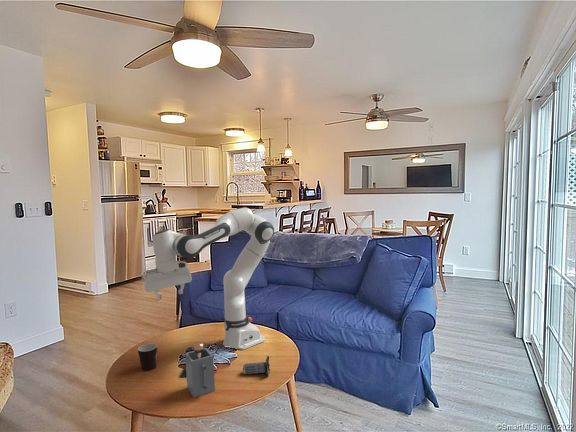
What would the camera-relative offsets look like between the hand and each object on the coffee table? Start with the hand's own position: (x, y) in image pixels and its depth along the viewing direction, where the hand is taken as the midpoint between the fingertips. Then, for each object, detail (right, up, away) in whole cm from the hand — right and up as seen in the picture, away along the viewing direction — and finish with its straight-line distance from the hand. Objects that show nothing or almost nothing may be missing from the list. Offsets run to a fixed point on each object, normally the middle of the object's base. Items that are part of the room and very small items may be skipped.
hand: (170, 296), depth 160 cm
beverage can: (+39, -35, +1) cm, 52 cm away
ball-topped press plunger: (+16, -31, -11) cm, 36 cm away
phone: (+8, -36, +7) cm, 37 cm away
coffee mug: (-13, -36, +10) cm, 39 cm away
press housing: (+17, -36, -12) cm, 42 cm away
